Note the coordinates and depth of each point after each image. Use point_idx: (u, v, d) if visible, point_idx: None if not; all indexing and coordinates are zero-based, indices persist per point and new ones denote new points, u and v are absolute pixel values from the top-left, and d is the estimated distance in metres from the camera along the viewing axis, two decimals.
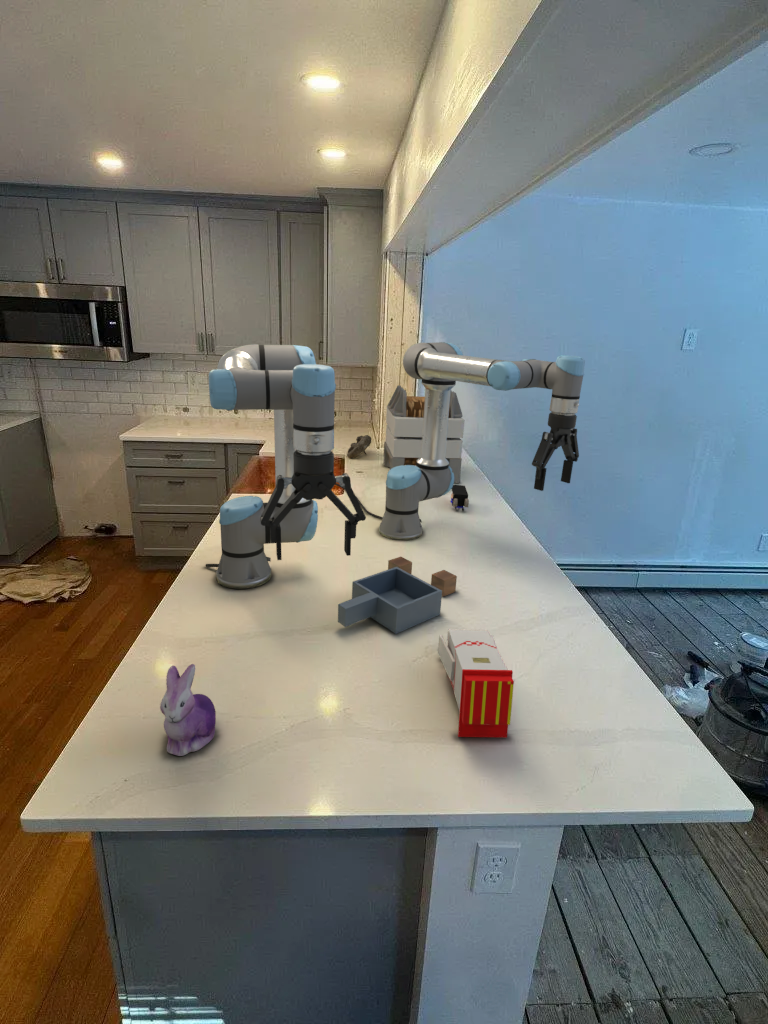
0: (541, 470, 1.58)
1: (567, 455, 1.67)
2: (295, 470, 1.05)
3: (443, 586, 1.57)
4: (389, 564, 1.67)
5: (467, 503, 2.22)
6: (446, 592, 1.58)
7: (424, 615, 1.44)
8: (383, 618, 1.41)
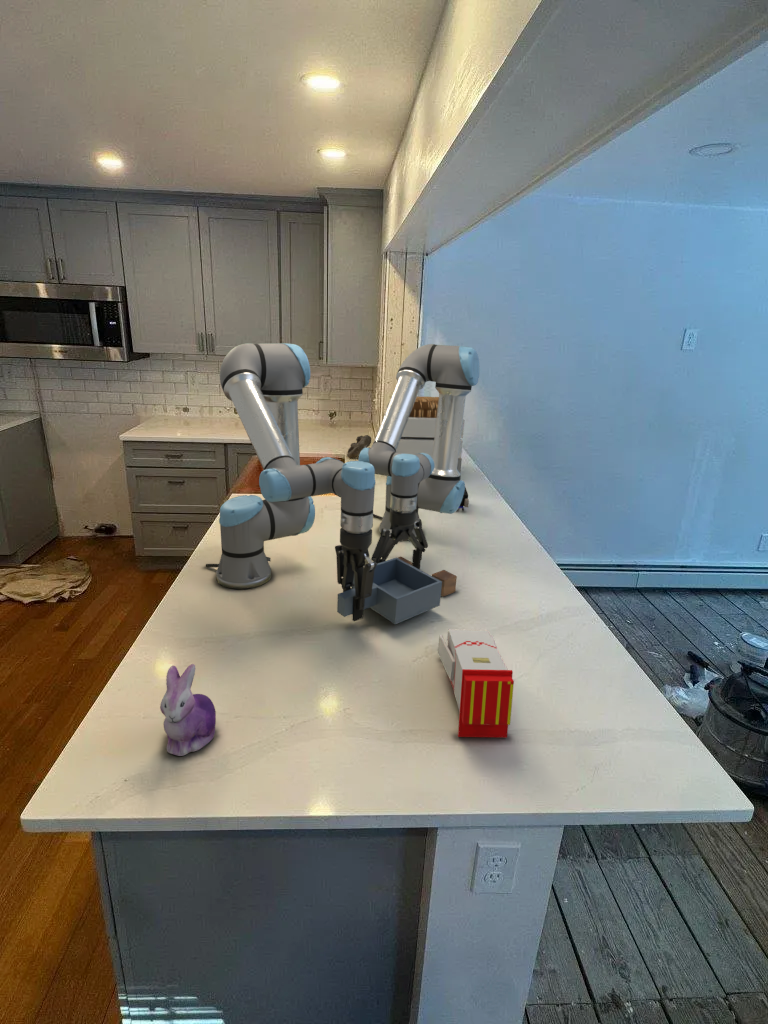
0: None
1: (415, 546, 1.69)
2: None
3: (443, 586, 1.57)
4: None
5: (467, 503, 2.22)
6: (446, 592, 1.58)
7: (424, 606, 1.43)
8: (382, 608, 1.41)
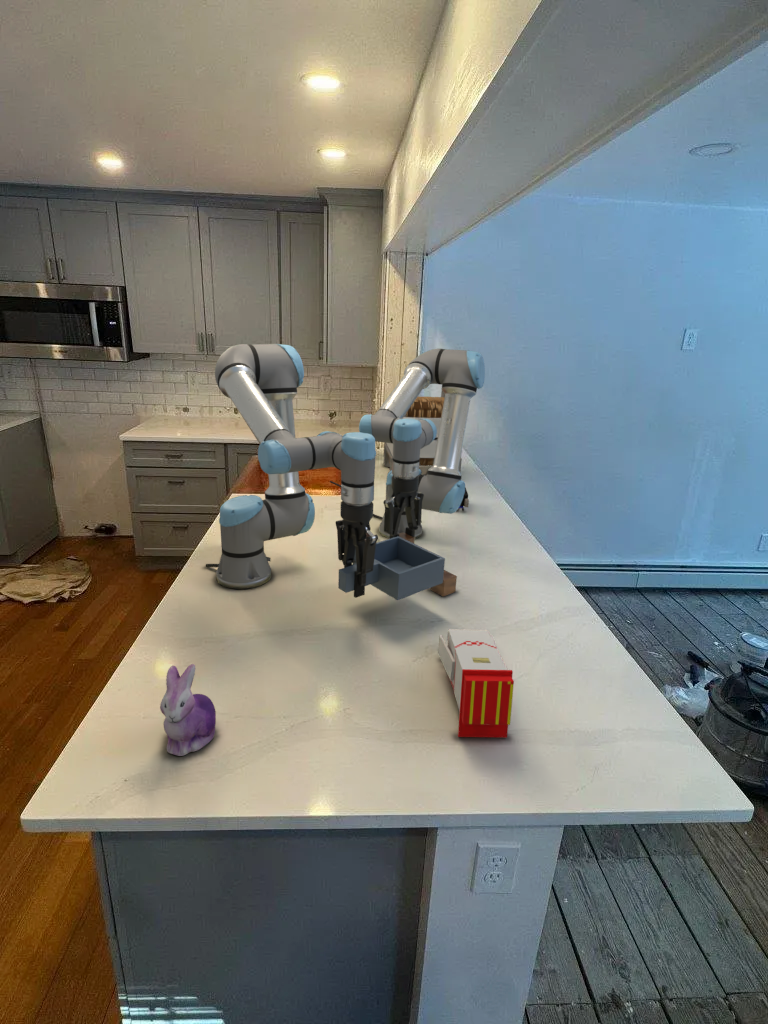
0: (394, 536, 1.61)
1: (409, 521, 1.64)
2: None
3: (443, 586, 1.57)
4: None
5: (467, 503, 2.22)
6: (446, 592, 1.58)
7: (426, 582, 1.41)
8: (384, 585, 1.38)
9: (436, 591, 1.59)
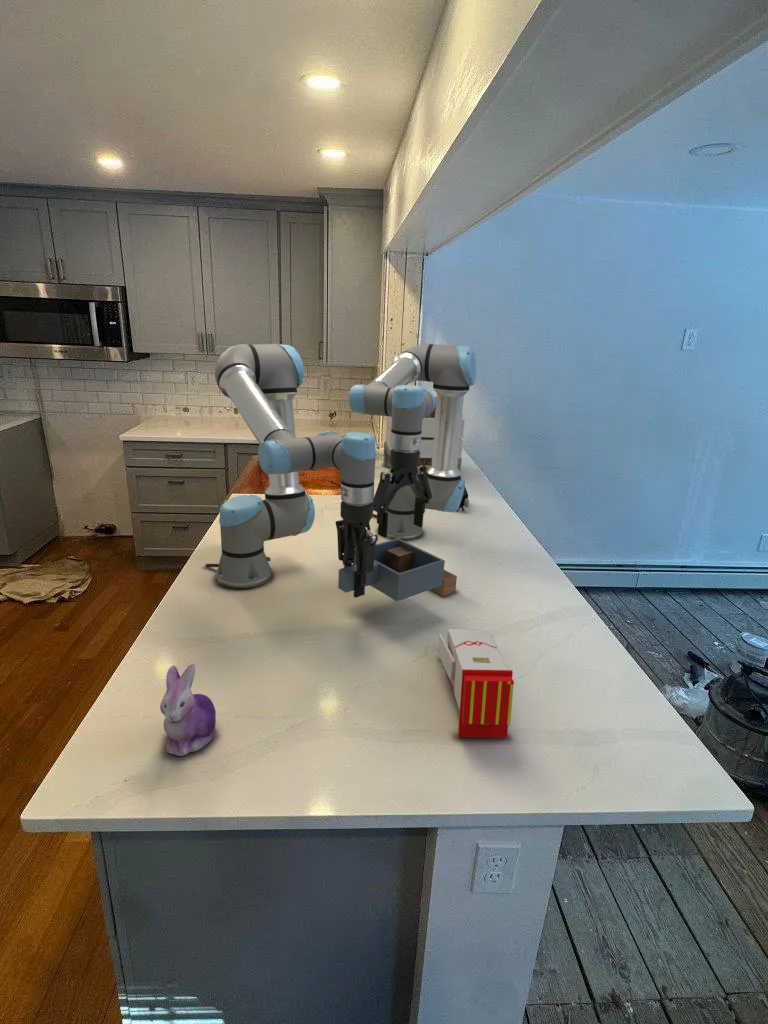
0: (382, 515, 1.41)
1: (417, 496, 1.49)
2: None
3: (443, 586, 1.57)
4: (387, 554, 1.50)
5: (467, 503, 2.22)
6: (446, 592, 1.58)
7: (426, 584, 1.41)
8: (384, 586, 1.38)
9: (436, 591, 1.59)
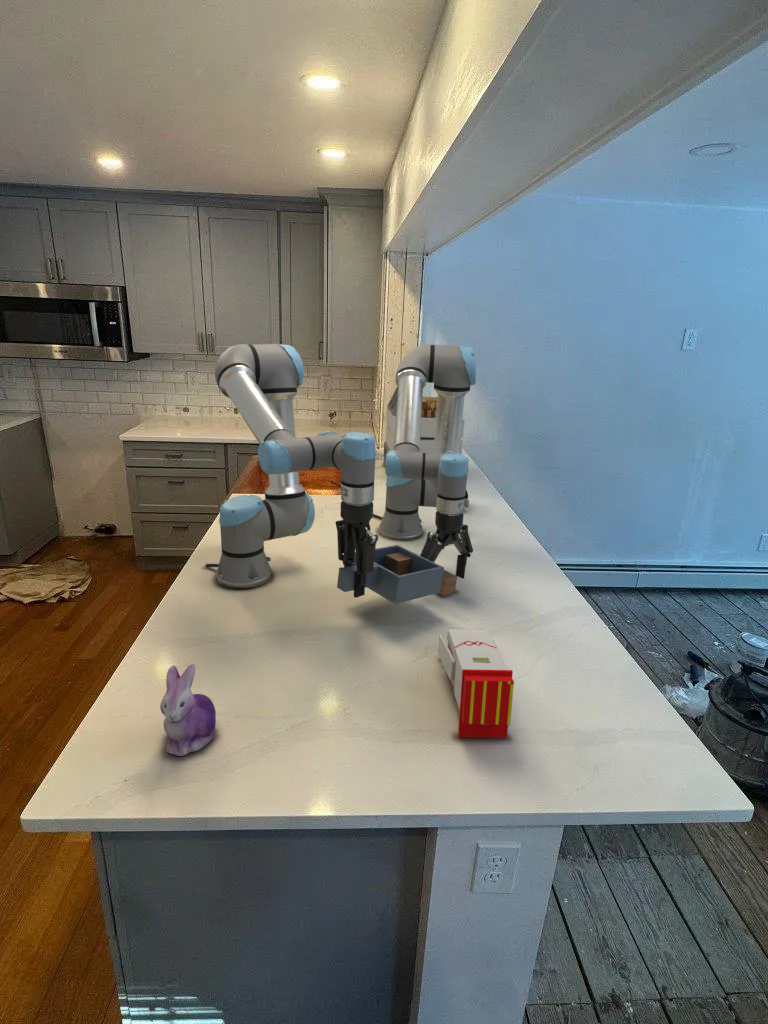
0: None
1: (460, 551, 1.61)
2: None
3: (443, 586, 1.57)
4: (386, 559, 1.50)
5: (467, 503, 2.22)
6: (446, 592, 1.58)
7: (424, 590, 1.41)
8: (383, 588, 1.38)
9: None
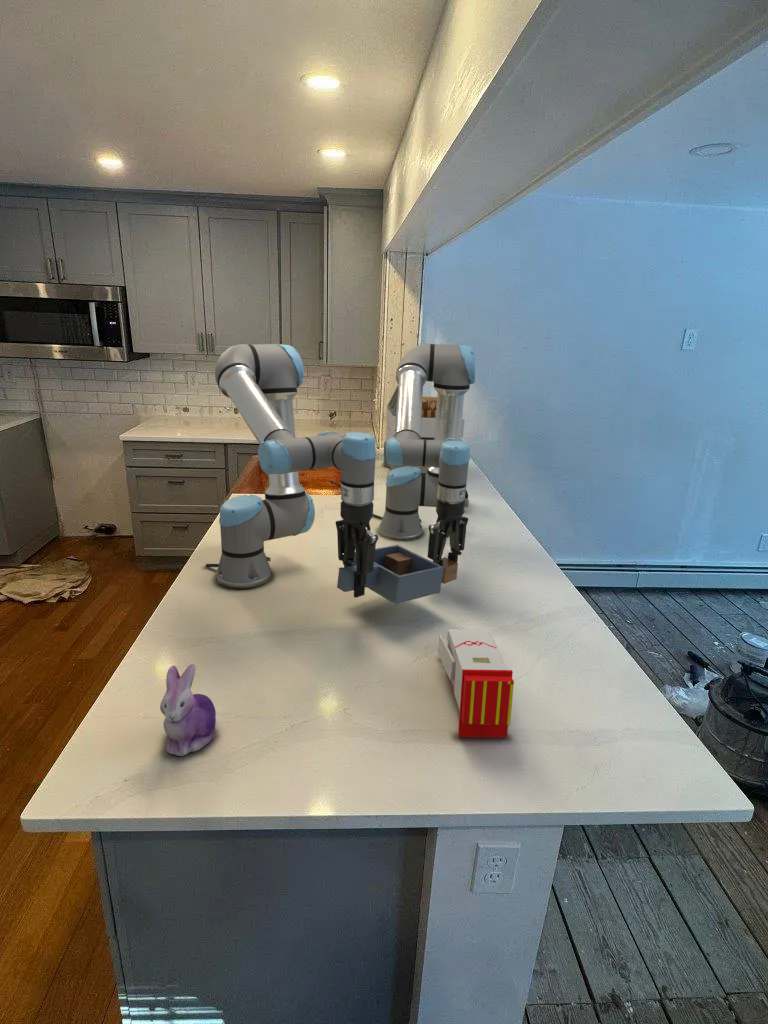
0: (437, 562, 1.55)
1: (452, 546, 1.58)
2: None
3: (444, 573, 1.56)
4: (386, 559, 1.50)
5: (467, 503, 2.22)
6: (447, 579, 1.57)
7: (424, 590, 1.41)
8: (383, 588, 1.38)
9: None
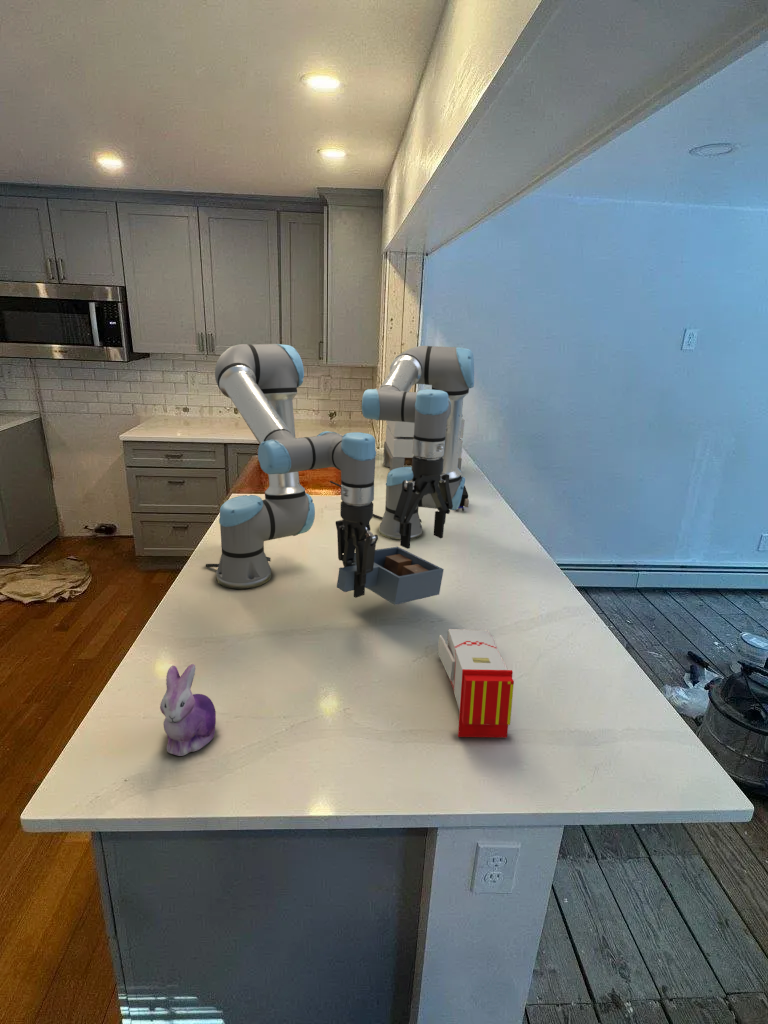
0: (405, 525, 1.36)
1: (438, 505, 1.43)
2: None
3: None
4: (386, 560, 1.50)
5: (467, 503, 2.22)
6: None
7: (424, 591, 1.41)
8: (382, 589, 1.38)
9: None
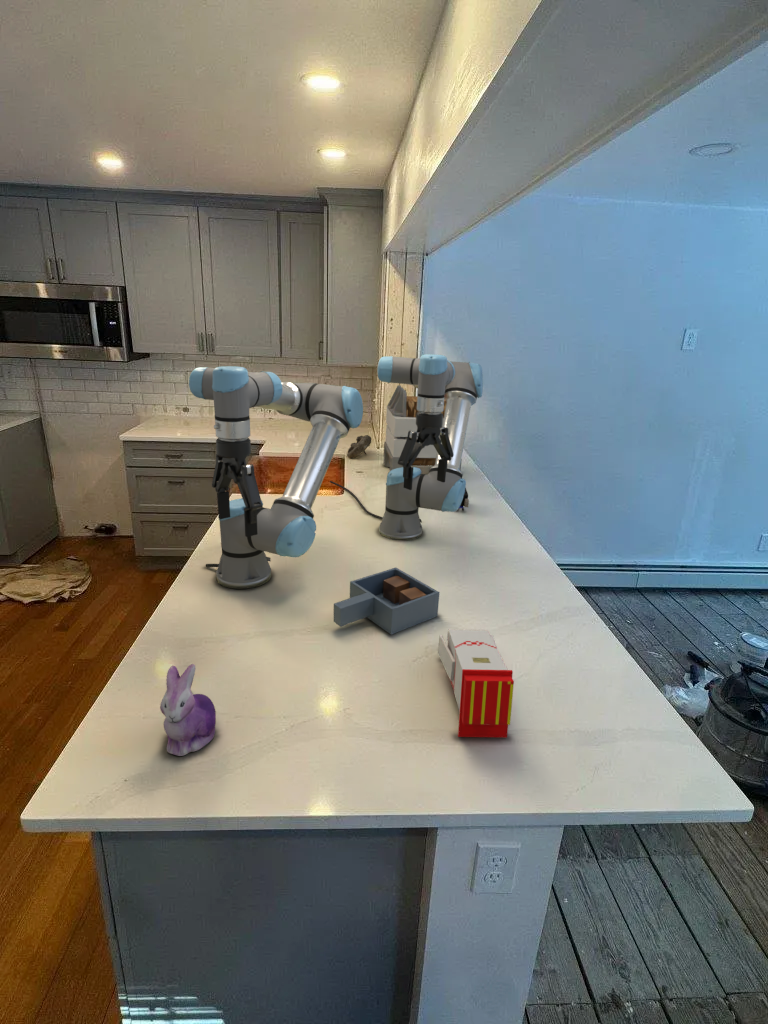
0: (408, 469, 1.58)
1: (440, 454, 1.66)
2: None
3: None
4: (384, 584, 1.53)
5: (467, 503, 2.22)
6: None
7: (421, 616, 1.43)
8: (379, 619, 1.41)
9: None
